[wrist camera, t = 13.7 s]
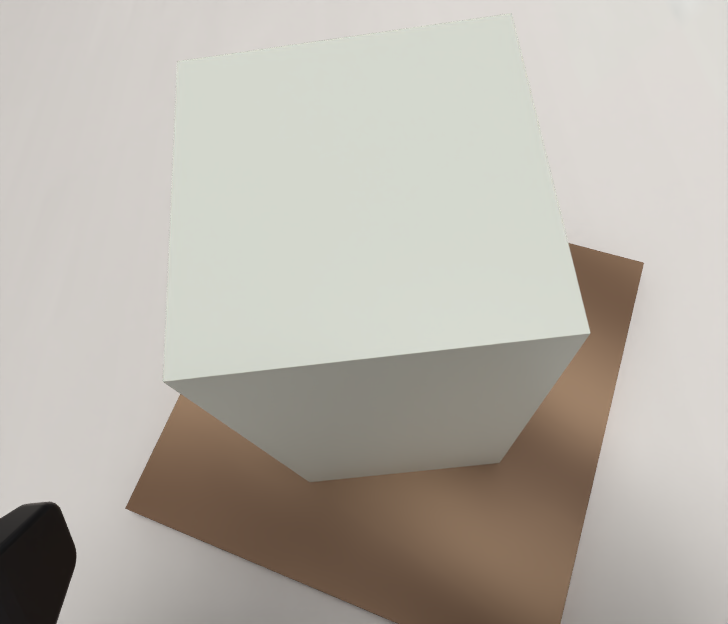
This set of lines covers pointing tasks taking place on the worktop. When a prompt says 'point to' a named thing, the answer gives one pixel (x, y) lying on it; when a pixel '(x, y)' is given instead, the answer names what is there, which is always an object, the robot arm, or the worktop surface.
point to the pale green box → (368, 250)
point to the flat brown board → (415, 497)
